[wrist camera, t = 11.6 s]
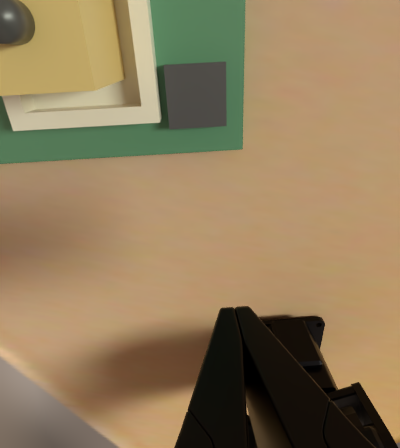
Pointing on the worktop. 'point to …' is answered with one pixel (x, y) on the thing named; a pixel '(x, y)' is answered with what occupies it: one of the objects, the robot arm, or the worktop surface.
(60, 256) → the worktop surface
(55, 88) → the plug
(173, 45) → the board
